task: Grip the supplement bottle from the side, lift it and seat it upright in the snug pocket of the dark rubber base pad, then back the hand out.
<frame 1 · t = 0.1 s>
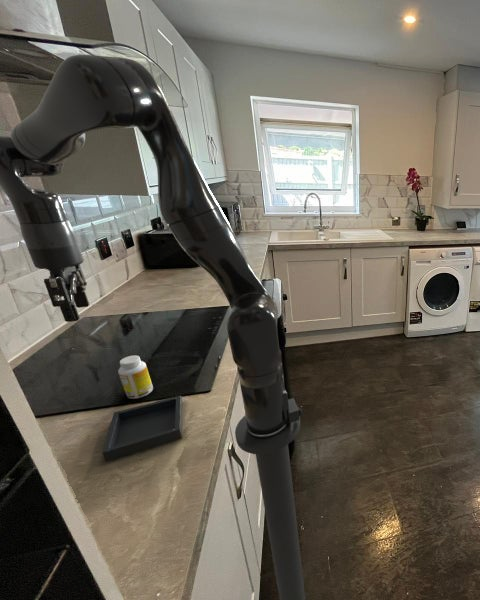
hand: (78, 313, 73), 23 cm above the worktop, tool pointing down, fingers open, 8 cm apart
base pad: (148, 429, 73), on the worktop
supplement bottle: (140, 393, 84), on the worktop
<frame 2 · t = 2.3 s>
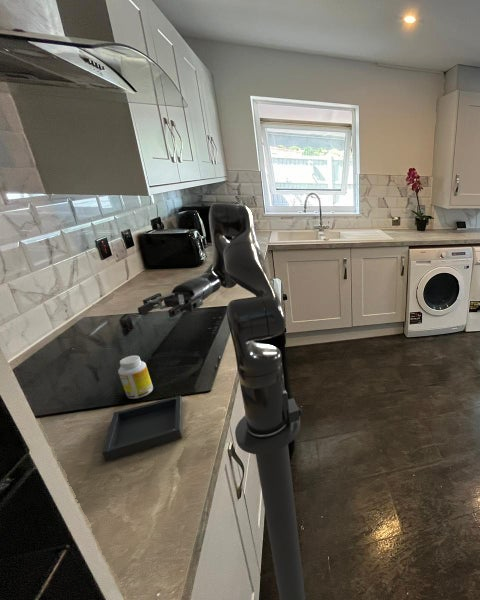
hand: (154, 312, 87), 18 cm above the worktop, tool horizontal, fingers open, 8 cm apart
nothing on the worktop moved.
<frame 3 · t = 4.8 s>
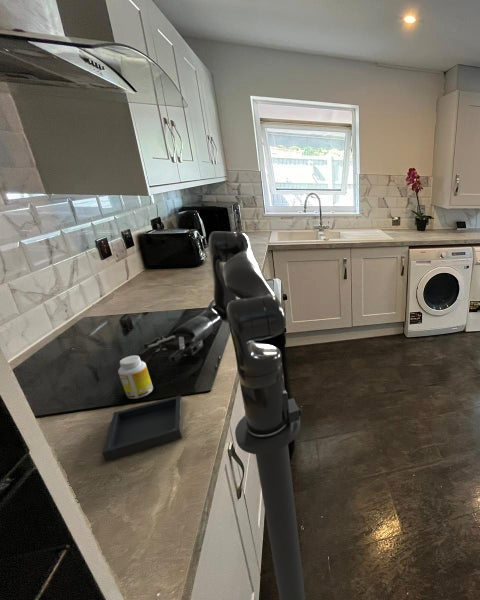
hand: (155, 358, 88), 6 cm above the worktop, tool horizontal, fingers open, 8 cm apart
nothing on the worktop moved.
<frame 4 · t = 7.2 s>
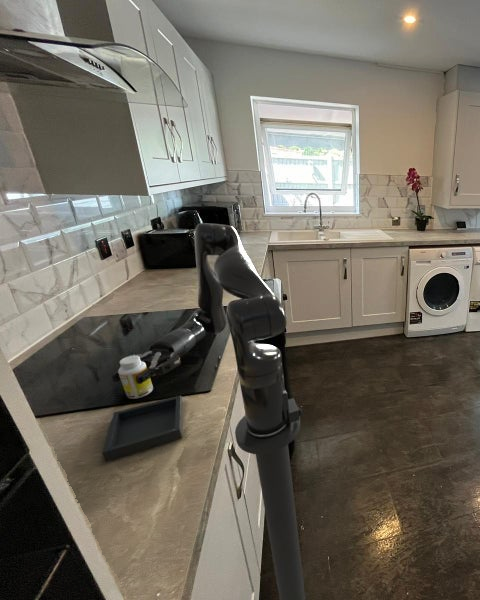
hand: (125, 379, 80), 6 cm above the worktop, tool horizontal, fingers closed on supplement bottle, 5 cm apart
supplement bottle: (140, 393, 84), on the worktop, touching gripper
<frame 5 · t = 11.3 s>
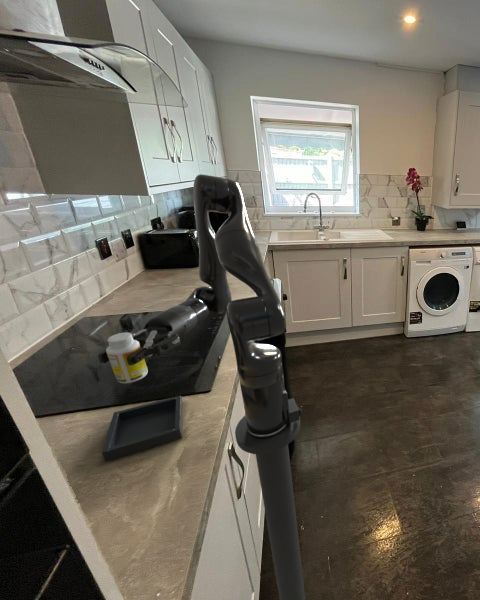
hand: (115, 360, 67), 18 cm above the worktop, tool horizontal, fingers closed on supplement bottle, 5 cm apart
supplement bottle: (133, 377, 72), point 11 cm above the worktop, touching gripper
when the fingers open (7 cm above the worktop, at t = 15.5 s): supplement bottle stays where it is, resting on base pad.
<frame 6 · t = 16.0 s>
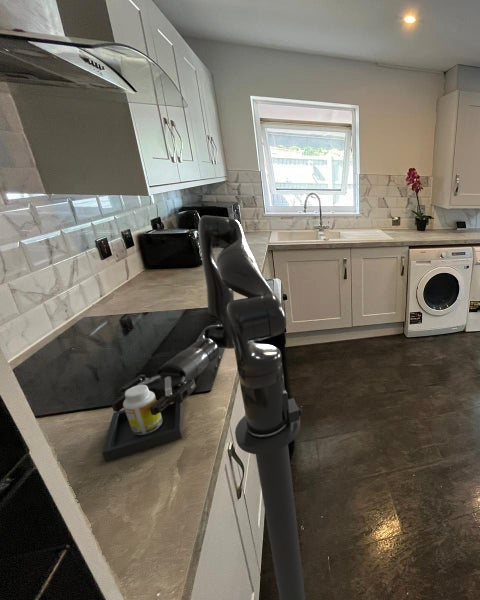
hand: (133, 410, 69), 7 cm above the worktop, tool horizontal, fingers open, 8 cm apart
supplement bottle: (148, 427, 73), resting on base pad
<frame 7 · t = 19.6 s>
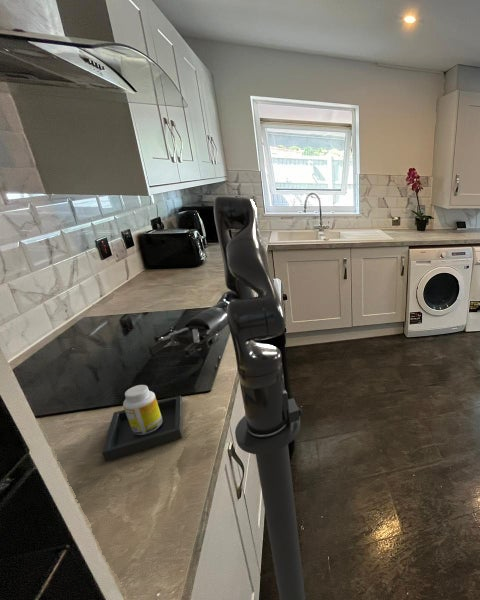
hand: (167, 352, 79), 13 cm above the worktop, tool horizontal, fingers open, 8 cm apart
nothing on the worktop moved.
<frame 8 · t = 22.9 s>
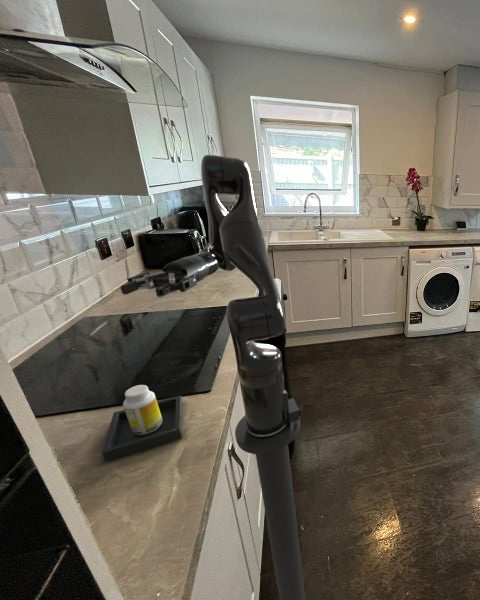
hand: (140, 291, 75), 28 cm above the worktop, tool horizontal, fingers open, 8 cm apart
nothing on the worktop moved.
at the end: supplement bottle 0.2 cm off-centre in the base pad, point 0.3 cm above the base pad's base; supplement bottle tilted 0°; the gripper is holding nothing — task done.
